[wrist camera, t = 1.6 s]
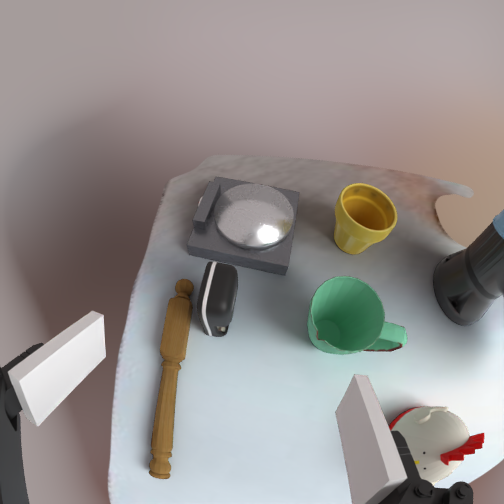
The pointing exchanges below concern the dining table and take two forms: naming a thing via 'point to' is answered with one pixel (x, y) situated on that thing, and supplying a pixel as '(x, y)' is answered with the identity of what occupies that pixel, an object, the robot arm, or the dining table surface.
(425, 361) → the dining table surface
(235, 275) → the battery charger
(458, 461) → the kitchen timer
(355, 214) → the plant pot
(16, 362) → the robot arm
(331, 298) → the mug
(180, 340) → the turned wooden baluster
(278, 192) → the scale
